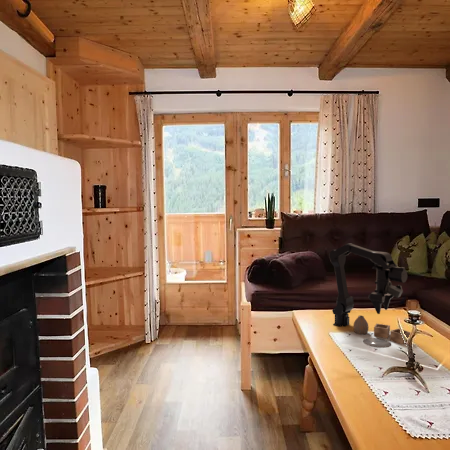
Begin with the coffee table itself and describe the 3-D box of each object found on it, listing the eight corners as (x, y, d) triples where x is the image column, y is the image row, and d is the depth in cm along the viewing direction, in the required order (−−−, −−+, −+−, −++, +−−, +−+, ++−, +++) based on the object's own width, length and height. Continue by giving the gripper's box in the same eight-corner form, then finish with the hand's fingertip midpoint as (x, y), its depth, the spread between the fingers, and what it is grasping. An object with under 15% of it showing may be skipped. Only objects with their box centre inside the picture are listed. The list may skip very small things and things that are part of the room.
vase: (369, 336, 182) (369, 318, 182) (354, 335, 183) (354, 317, 183) (367, 331, 189) (367, 314, 188) (352, 331, 190) (352, 313, 190)
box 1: (373, 337, 181) (374, 326, 181) (376, 333, 186) (376, 323, 186) (387, 339, 178) (387, 329, 178) (389, 335, 183) (389, 325, 183)
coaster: (358, 344, 173) (358, 342, 172) (369, 337, 181) (369, 336, 181) (385, 351, 164) (385, 349, 164) (395, 343, 173) (395, 342, 173)
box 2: (390, 341, 176) (390, 330, 175) (398, 339, 179) (398, 328, 178) (402, 345, 170) (402, 334, 170) (410, 343, 174) (410, 332, 173)
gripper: (393, 285, 168) (392, 319, 169) (407, 278, 182) (406, 310, 183) (368, 281, 176) (367, 314, 177) (383, 275, 189) (383, 306, 190)
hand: (382, 311), depth 181 cm, fingers open, 9 cm apart
